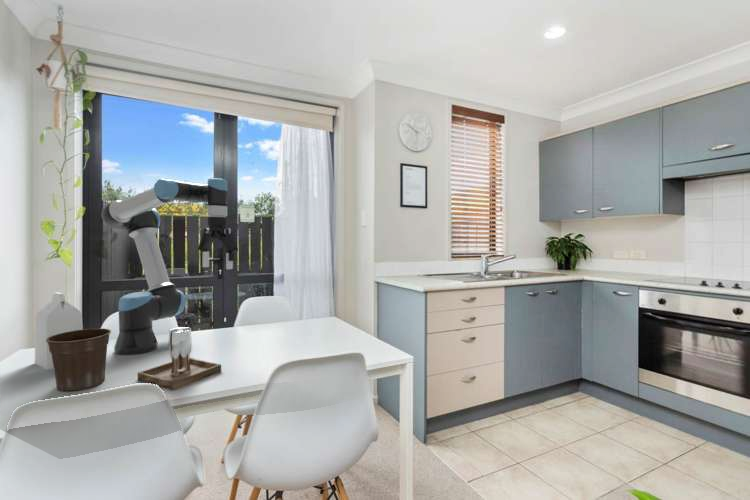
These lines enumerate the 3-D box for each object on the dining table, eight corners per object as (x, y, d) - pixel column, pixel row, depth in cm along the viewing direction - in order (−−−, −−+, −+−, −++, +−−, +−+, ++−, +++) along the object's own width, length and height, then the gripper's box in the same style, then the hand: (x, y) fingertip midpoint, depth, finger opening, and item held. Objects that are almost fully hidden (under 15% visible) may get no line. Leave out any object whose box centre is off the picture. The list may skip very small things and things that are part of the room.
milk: (85, 360, 141) (84, 292, 140) (46, 369, 131) (44, 296, 130) (72, 354, 147) (71, 289, 146) (34, 363, 137) (32, 293, 136)
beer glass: (182, 377, 123) (182, 333, 122) (164, 376, 124) (163, 331, 123) (196, 370, 130) (196, 327, 129) (179, 368, 131) (178, 326, 130)
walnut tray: (137, 380, 122) (137, 372, 122) (186, 363, 139) (186, 356, 138) (174, 390, 115) (174, 382, 114) (221, 371, 131) (221, 364, 131)
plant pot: (34, 389, 114) (33, 338, 114) (91, 372, 129) (90, 326, 129) (68, 398, 108) (67, 344, 108) (123, 378, 124) (122, 330, 123)
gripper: (247, 217, 151) (246, 269, 152) (203, 217, 162) (203, 265, 162) (232, 216, 144) (232, 270, 145) (188, 216, 155) (188, 266, 156)
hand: (217, 268), depth 154 cm, fingers open, 13 cm apart
